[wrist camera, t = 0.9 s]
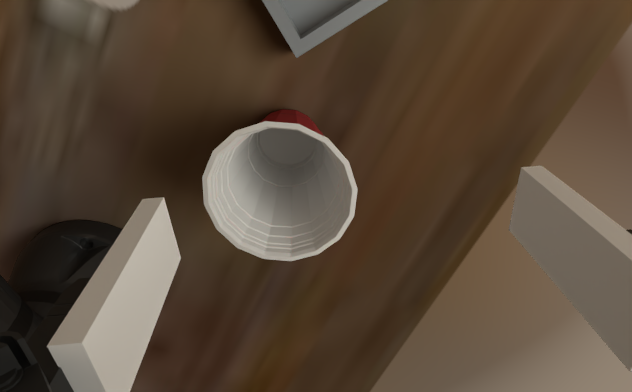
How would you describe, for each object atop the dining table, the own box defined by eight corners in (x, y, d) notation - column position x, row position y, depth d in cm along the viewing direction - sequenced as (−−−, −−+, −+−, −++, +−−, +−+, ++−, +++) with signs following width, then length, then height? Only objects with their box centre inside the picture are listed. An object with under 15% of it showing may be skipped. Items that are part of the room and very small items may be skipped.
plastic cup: (271, 52, 35) (257, 89, 24) (367, 126, 38) (390, 186, 28) (206, 147, 39) (169, 213, 28) (297, 206, 42) (295, 284, 32)
